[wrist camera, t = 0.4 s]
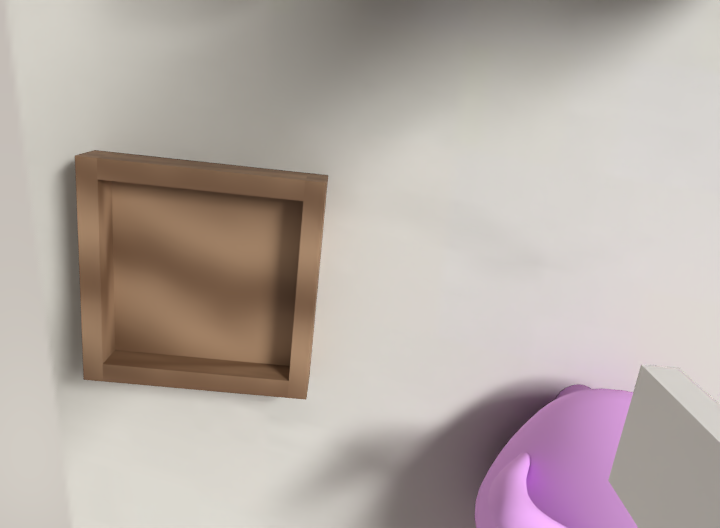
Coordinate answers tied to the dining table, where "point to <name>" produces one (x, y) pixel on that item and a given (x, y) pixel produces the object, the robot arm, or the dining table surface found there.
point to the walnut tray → (198, 273)
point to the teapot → (559, 466)
